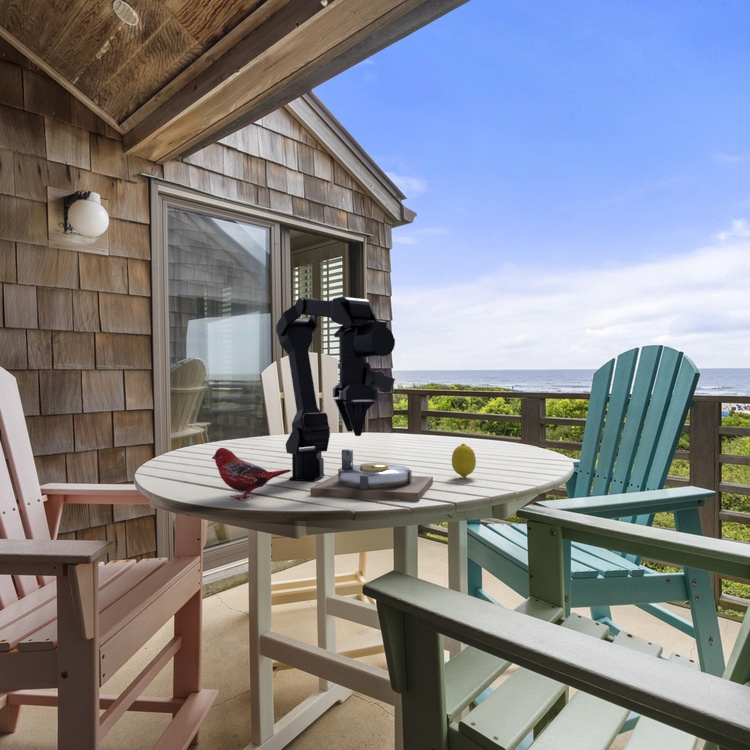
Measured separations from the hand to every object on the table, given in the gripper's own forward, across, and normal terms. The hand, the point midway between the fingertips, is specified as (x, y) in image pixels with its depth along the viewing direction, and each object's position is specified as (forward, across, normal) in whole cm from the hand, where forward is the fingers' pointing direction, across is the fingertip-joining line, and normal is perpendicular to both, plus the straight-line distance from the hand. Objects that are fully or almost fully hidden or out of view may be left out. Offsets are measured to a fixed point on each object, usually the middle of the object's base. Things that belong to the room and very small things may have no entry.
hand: (353, 433), depth 105 cm
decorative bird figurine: (+12, -2, +21) cm, 24 cm away
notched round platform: (+10, +1, -5) cm, 12 cm away
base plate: (+12, +1, -5) cm, 13 cm away
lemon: (+12, +8, -27) cm, 31 cm away
